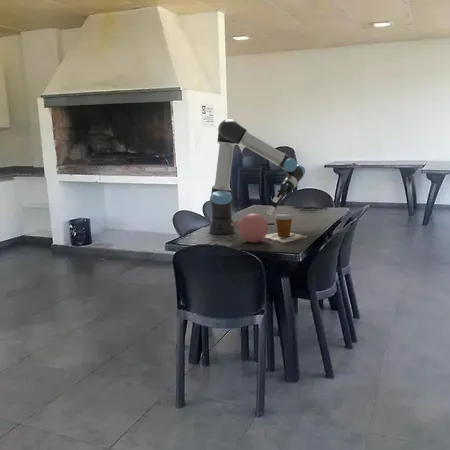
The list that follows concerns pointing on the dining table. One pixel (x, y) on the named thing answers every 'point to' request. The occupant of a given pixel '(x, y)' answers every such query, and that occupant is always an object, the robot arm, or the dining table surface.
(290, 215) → the disposable coffee cup
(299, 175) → the robot arm
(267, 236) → the board
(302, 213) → the dining table surface
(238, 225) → the balloon
